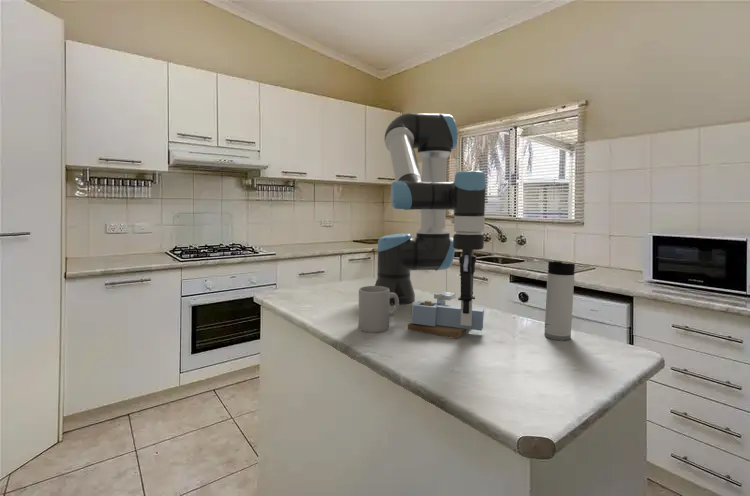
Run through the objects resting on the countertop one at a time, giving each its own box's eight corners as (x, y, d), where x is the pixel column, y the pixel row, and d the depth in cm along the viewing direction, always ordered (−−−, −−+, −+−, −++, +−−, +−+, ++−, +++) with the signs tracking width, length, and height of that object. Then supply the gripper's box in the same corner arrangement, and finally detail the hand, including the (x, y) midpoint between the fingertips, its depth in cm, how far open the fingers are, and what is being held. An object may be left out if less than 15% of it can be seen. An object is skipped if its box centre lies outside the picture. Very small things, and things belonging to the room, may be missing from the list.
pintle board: (429, 318, 123) (430, 293, 122) (474, 325, 116) (475, 299, 115) (407, 329, 112) (408, 302, 111) (456, 338, 104) (457, 310, 104)
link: (411, 323, 111) (412, 305, 111) (418, 318, 117) (418, 301, 117) (480, 332, 104) (481, 312, 104) (483, 326, 110) (484, 308, 110)
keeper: (439, 315, 120) (439, 291, 119) (455, 318, 117) (456, 293, 117) (432, 319, 116) (432, 293, 115) (448, 322, 114) (449, 296, 113)
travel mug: (540, 337, 106) (544, 260, 104) (549, 331, 111) (553, 258, 109) (565, 342, 102) (570, 263, 100) (574, 336, 107) (578, 260, 105)
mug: (366, 334, 107) (367, 293, 106) (353, 325, 115) (353, 287, 114) (406, 328, 113) (406, 289, 112) (390, 320, 120) (391, 283, 119)
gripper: (456, 231, 111) (454, 317, 113) (450, 234, 98) (447, 330, 101) (485, 232, 109) (482, 319, 111) (482, 235, 96) (479, 333, 98)
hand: (466, 324), depth 106 cm, fingers closed
